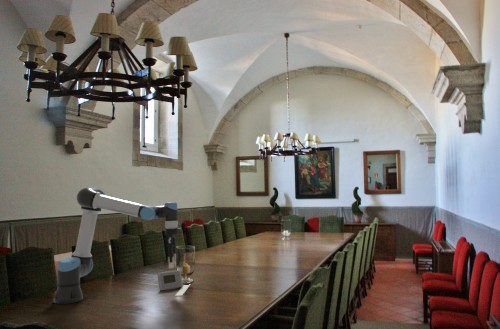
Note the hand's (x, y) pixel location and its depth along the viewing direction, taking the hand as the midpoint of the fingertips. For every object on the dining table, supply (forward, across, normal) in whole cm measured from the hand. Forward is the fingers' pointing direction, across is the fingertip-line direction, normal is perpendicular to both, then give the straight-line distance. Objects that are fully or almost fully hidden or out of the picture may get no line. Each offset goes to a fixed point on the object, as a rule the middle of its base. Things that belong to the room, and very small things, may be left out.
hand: (172, 267), depth 244 cm
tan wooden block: (0, 0, 0) cm, 0 cm away
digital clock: (+16, +15, +5) cm, 23 cm away
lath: (+16, +13, -4) cm, 21 cm away
